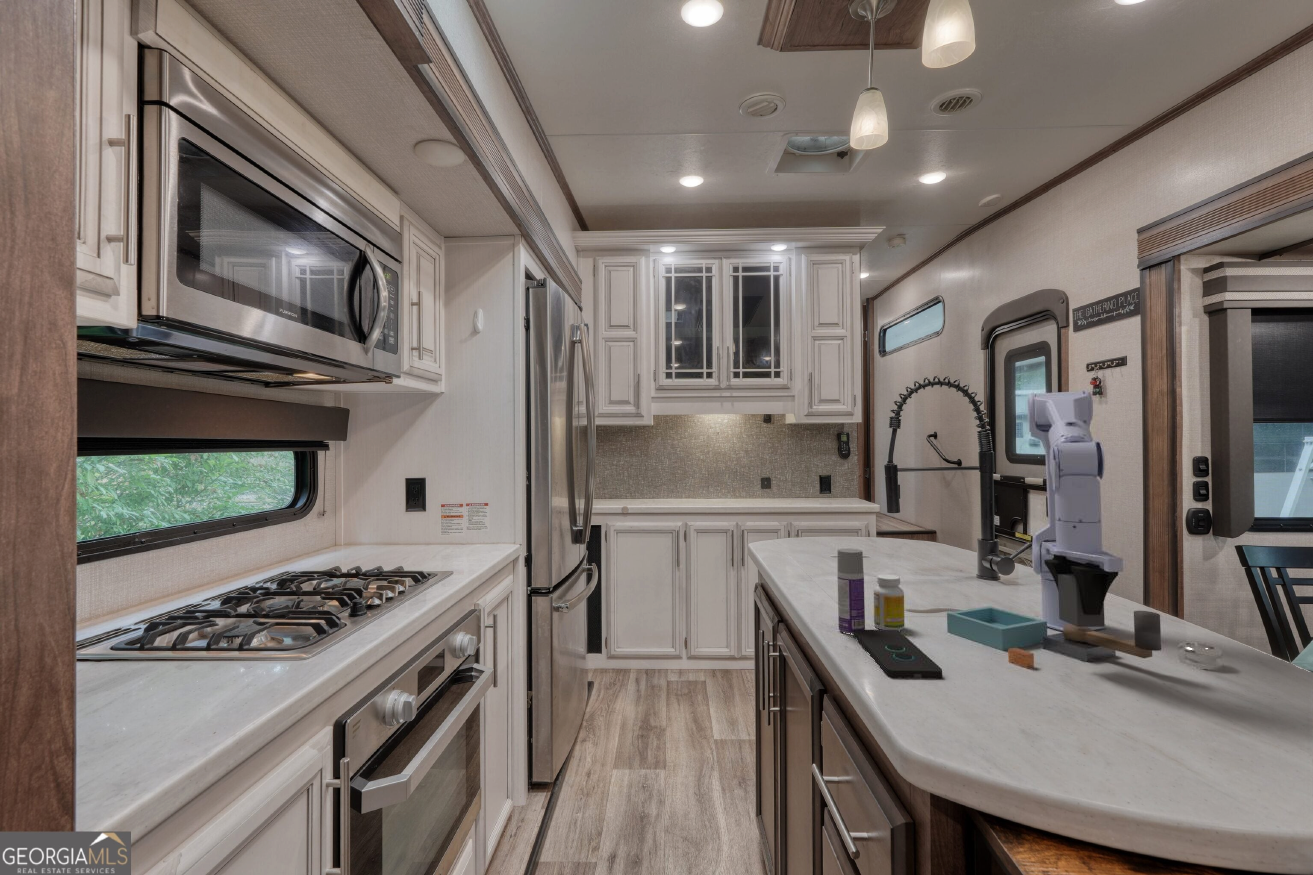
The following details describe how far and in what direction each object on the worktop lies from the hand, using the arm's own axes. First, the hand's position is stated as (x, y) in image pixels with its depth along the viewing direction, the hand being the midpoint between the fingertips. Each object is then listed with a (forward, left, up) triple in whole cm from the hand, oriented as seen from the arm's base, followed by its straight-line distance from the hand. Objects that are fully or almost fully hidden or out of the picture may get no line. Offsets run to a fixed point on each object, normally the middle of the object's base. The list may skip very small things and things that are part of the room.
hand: (1081, 609), depth 89 cm
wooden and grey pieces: (-1, -5, -9) cm, 10 cm away
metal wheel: (-18, +6, -9) cm, 21 cm away
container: (+19, -29, -9) cm, 36 cm away
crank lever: (-7, 0, -7) cm, 9 cm away
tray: (-2, -16, -9) cm, 18 cm away
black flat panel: (+21, -16, -10) cm, 28 cm away
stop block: (0, 0, -2) cm, 2 cm away
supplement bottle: (+11, -28, -9) cm, 31 cm away
